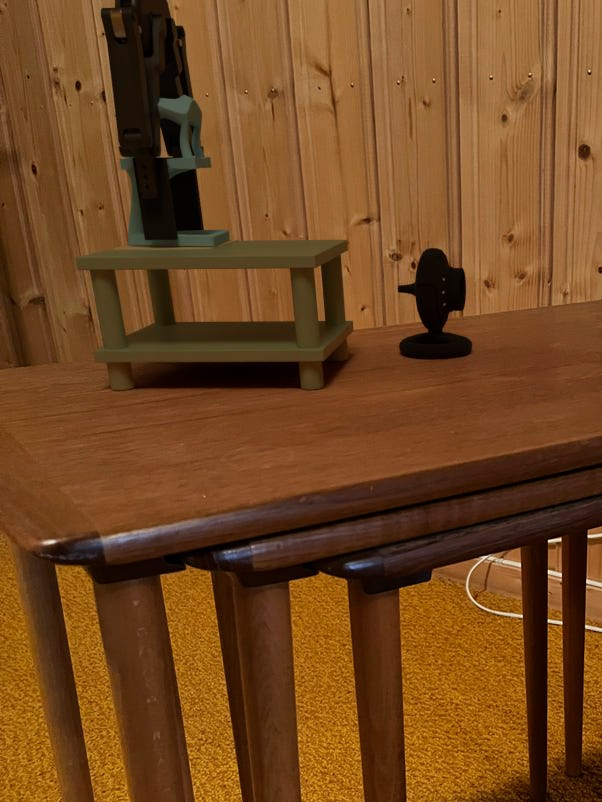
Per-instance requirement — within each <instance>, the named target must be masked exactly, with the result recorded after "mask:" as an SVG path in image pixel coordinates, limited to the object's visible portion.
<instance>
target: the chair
mask: <svg viewBox="0 0 602 802" xmlns="http://www.w3.org/2000/svg"><path fill="white" fill-rule="evenodd" d="M158 110H159V113H160V119H161V118H167V119H169V120H172V121H174V122H176V123H177V124H179V125H180V126H181V131H180V148H181V153H182V156H183V158H173V159H167V165H168V172H169V179H171V178H172V177H173V176H174V175H176V174H179V173H182V172H185V171H188V170H191V169H196V170H197V169H198V170H199V169H212V160H211V159H212V158H211V157H210V156H205V152H204V153H203V151H202V148H201V146H202V142H201V143H200V140H201V134H202V125H203V123H202V122H203V112H202V109H201V107H200V105H199V104H198V101H196V100H195V98H193V99H192V98H190V97H188V96H186V95H182V96H181V97H180V98H178V99H165V98H160V101H159V103H158ZM114 117H115V118H116V115H115V114H114ZM189 124H190V125H192V126H193V127H194V131H193V135H192V149H193V152H194V155H195V156H193V155H192V152H191V149H190V145H189ZM132 158H135V157H124V158H119V164H120V169H121V171H125V172H126V173H127V175H128V176H129V179H130V185H131V190H130V191H131V193H130V211H129V222H128V231H127V242H128V243H127V245H132V246H204V247H216V246H218V245H220V244H223V243H225V242H227V241H229V240H231V236H230V230H229V229H204V230H191V231H177V236H178V239H177V240H145V237H144V230H143V224H142V217H141V211H140V204H139V198H138V191H137V185H136V179H135V172H134V166H133V159H132Z"/></svg>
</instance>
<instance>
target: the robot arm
mask: <svg viewBox="0 0 602 802" xmlns="http://www.w3.org/2000/svg"><path fill="white" fill-rule="evenodd" d="M100 19H101V23H102V27H103V31H104V36H105V40H106V45H107V54H108V63H109V71H110V72H109V73H110V81H111V89H112V98H113V105H114V106H113V107H114V116H115V115H116V117H115V120H116V121H115V123H116V131H117V140H118V145H119V146H118V152H119V154H120V156H121V158H126V157H135V158H132V159H133V166H134V172H135V179H136V185H137V191H138V198H139V204H140V211H141V217H142V224H143V230H144V237H145V240H177V239H178V236H177V231H191V230H205V227H204V219H203V211H202V210H203V209H202V204H201V196H200V187H199V181H198V179H199V178H198V174H197V173H198V172H197V169H191V170H188V171H185V172H182V173H179V174H176V175H174V176H173V177H172V178H171V179H169V172H168V165H167V159H173V158H183V156H182V153H181V148H180V131H181V126H180V125H179V124H177V123H176V122H174V121H172V120H169V119H167V118H161V119H160V113H159V110H158V103H159V101H160V98H165V99H178V98H180V97H181V96H182V95H186V96H188V97H190V98H192V99H194V93H193V86H192V80H191V75H190V68H189V61H188V55H187V40H186V30H185V28H184V26H183V25H176V21H175V19H174V18H173V17H172V14H171V10H170V6H169V3H168V0H114V7H101V9H100ZM193 131H194V127H193V126H192V125H190V124H189V145H190V149H191V152H192V155H193V157H195V155H194V152H193V149H192V135H193ZM161 135H162V137H161ZM161 138H163V143H164V148H165V152H166V154H167V157H165V156H163V157H161V156H162V155H161V154H162V139H161ZM200 143H201V144H202V141H201V139H200ZM201 148H202V151H203V153H204V154H205V148H204V146H203V145H201Z"/></svg>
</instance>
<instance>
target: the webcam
mask: <svg viewBox="0 0 602 802" xmlns="http://www.w3.org/2000/svg"><path fill="white" fill-rule="evenodd" d="M397 293H399V294H407V295H412V296H414V297H415V304H416V311H417V313H418V317H419V319H420V321H421V324H422V325H423V327H424V328H425V329H426V330H427V331H426V332H420V333H417V334H413V335H410V336H406V337H404V338H403V339H401V341H400V342H399V344H398V349H399V352H400V353H401V354H402V355H404V356H407V357H409V358H414V359H415V358H417V359H432V360H433V359H450V358H457V357H463V356H467V355H469V353H471V352H472V350H473V341H472V340H471V339H470V338H468V337H466V336H464V335H460V334H458V333H457V334H456V333H452V332H448V331H447V332H446V331H443V330H444V328H445V326H446V323H447V322H448V319H449V317H450V313H452V312H463V311H464V309H465V307H466V300H467V279H466V272H465V269H464V268H463V267H453V266H451V265H450V263H449V260H448V256H447V254H446V253H445V252H444V251H443V249H441V248H437V247H429V248H426V249H425V250H424V251H422V252H421V255H420V257H419V259H418V263H417V267H416V270H415V280H414V282H413V283H409V284H400V285H399V284H398V285H397Z"/></svg>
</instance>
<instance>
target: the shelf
mask: <svg viewBox="0 0 602 802" xmlns="http://www.w3.org/2000/svg"><path fill="white" fill-rule="evenodd" d="M348 251H349V243H348V239H282V240H281V239H276V240H275V239H273V240H272V239H267V240H266V239H265V240H262V239H261V240H259V239H258V240H256V239H255V240H239V239H230V240H229V241H227V242H225V243H223V244H220V245H218V246H216V247H204V246H132V245H128V244H127V245H123V246H118V247H114V248H110V249H106V250H102V251H98V252H97V251H96V252H93V253H89V254H88V253H87V254H84V255H80V256H76V257H75V258H74V259H75V264H76V269H77V271H89V276H90V281H91V286H92V292H93V297H94V303H95V309H96V313H97V319H98V325H99V330H100V336H101V341H102V346H100V347H97V348H95V349H94V350H92V357H93V362H94V363H102V364H103V363H105V364H106V370H107V375H108V381H109V385H110V390H112V391H128V390H132V389H134V388H135V381H134V375H133V370H132V369H133V368H132V363H282V362H283V363H288V362H290V363H293V362H294V363H295V362H297V363H298V370H299V371H298V372H299V381H300V383H299V384H300V388H301V390H307V391H312V390H313V391H314V390H321V389H323V388H324V387H325V386H324V385H325V384H324V371H323V362H325V361H326V359H327V360H328V361H330V362H345V361H348V360H349V349H348V337H349V336H350V335H351V334H352V333H353V332H354V330H355V329H354V321H353V320H346V306H345V305H346V304H345V292H344V291H345V290H344V280H343V264H342V254H344V253H346V252H348ZM319 267H320V276H321V286H322V287H321V289H322V300H323V313H324V320H319V311H318V300H317V288H316V287H317V285H316V275H315V269H317V268H319ZM253 269H255V270H257V269H258V270H259V269H260V270H261V269H289V277H290V288H291V296H292V297H291V298H292V306H293V307H292V309H293V317H294V320H267V321H266V320H263V321H262V320H261V321H259V320H257V321H256V320H255V321H253V320H249V321H247V320H245V321H241V320H240V321H176V315H175V308H174V301H173V293H172V287H171V281H170V280H171V279H170V274H169V270H253ZM139 270H141V271H142V270H144V271H146V275H147V276H146V277H147V282H148V283H147V284H148V289H149V295H150V301H151V308H152V315H153V321H154V322H153V323H151V324H149V325H147V326H145V327H142V328H140V329H138V330H135V331H133V332H130V333H129V334H126V328H125V323H124V317H123V310H122V305H121V298H120V293H119V287H118V281H117V275H116V271H139Z"/></svg>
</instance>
